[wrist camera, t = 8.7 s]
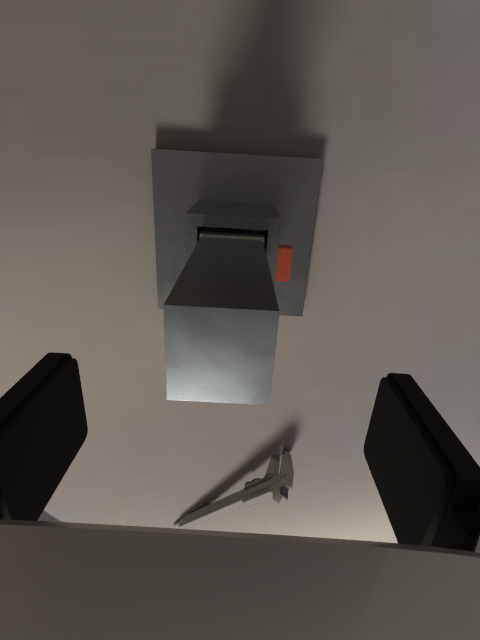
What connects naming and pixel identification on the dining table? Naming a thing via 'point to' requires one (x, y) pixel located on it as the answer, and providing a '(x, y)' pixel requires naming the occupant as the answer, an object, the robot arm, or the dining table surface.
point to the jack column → (222, 322)
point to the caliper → (248, 493)
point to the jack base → (237, 212)
